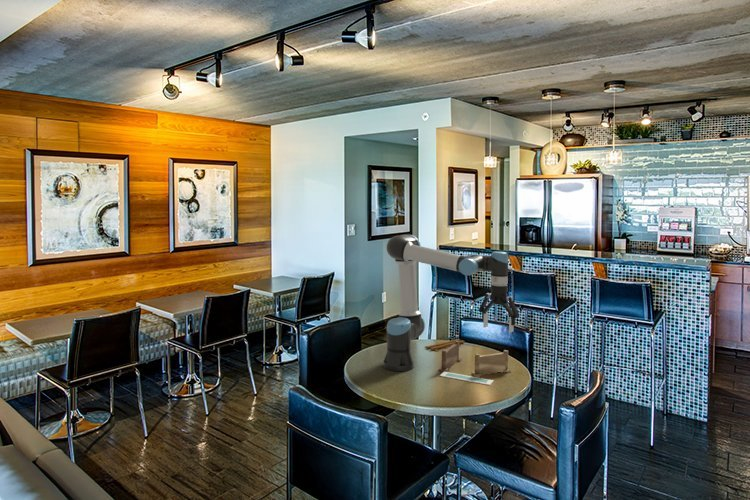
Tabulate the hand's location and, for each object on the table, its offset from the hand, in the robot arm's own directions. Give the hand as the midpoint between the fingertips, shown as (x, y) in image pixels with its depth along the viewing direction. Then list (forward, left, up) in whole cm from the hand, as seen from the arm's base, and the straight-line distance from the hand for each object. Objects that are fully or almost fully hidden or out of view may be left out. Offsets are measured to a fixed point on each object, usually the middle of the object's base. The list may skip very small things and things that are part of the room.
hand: (498, 329), depth 235 cm
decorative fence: (-38, +31, -22) cm, 54 cm away
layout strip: (-11, -13, -22) cm, 27 cm away
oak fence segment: (-3, 0, -22) cm, 22 cm away
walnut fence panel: (-24, +1, -22) cm, 32 cm away
